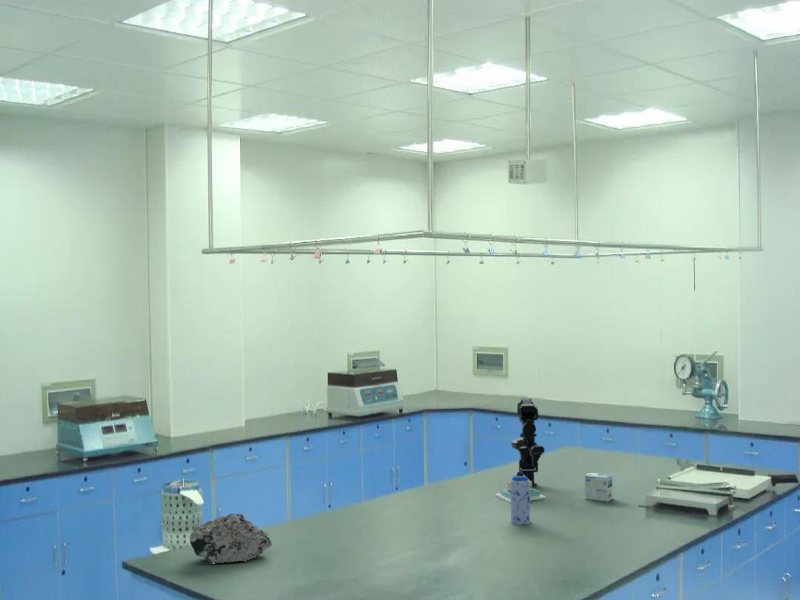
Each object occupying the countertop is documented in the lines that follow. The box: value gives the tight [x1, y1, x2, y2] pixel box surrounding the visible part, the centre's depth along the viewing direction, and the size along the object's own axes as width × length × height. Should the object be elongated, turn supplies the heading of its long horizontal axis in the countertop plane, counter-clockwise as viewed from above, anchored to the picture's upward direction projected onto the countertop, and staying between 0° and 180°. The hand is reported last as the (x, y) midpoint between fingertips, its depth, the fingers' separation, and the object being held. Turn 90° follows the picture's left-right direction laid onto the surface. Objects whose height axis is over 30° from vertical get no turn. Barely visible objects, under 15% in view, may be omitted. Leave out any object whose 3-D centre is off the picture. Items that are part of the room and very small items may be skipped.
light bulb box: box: [584, 472, 614, 502], centre depth 368 cm, size 11×7×11 cm, turn 58°
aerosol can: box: [510, 470, 531, 526], centre depth 333 cm, size 8×8×20 cm
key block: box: [507, 481, 533, 493], centre depth 373 cm, size 10×4×6 cm, turn 111°
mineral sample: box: [189, 513, 273, 565], centre depth 292 cm, size 27×19×15 cm
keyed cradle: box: [494, 487, 547, 504], centre depth 373 cm, size 14×18×3 cm
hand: (529, 465), depth 385 cm, fingers open, 9 cm apart
